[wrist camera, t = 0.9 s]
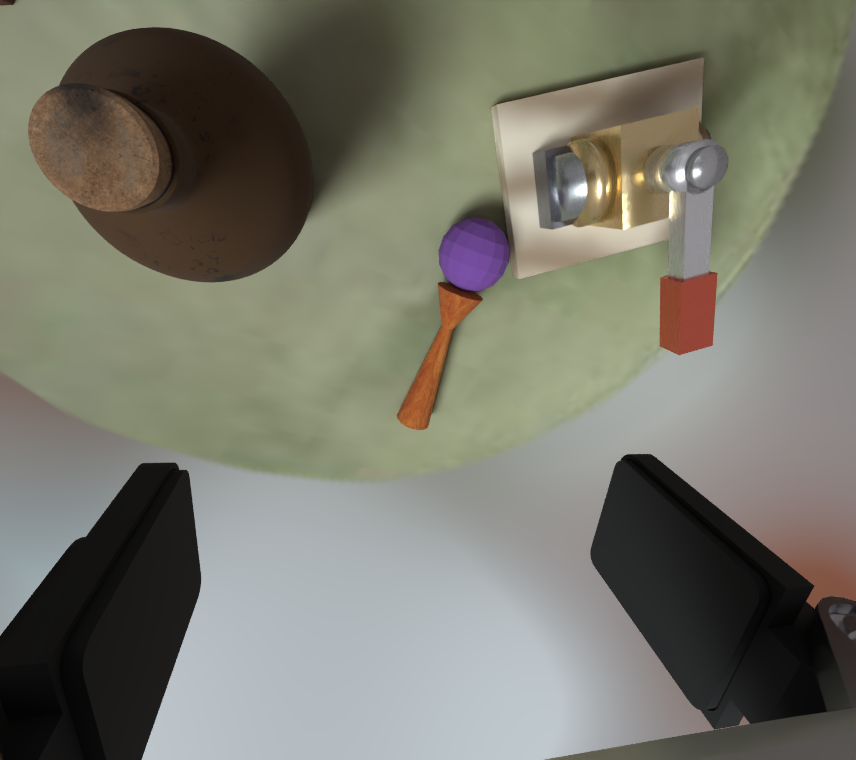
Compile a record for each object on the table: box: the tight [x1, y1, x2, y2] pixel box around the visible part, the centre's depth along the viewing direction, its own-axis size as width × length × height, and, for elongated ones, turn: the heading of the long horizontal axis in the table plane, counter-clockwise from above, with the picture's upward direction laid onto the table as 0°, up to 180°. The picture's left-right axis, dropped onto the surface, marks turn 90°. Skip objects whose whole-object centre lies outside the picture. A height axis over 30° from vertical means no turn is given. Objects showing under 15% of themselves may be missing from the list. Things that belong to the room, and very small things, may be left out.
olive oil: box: [28, 27, 313, 282], centre depth 23 cm, size 11×11×25 cm
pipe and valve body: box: [532, 106, 712, 230], centre depth 35 cm, size 7×13×7 cm, turn 103°
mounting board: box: [491, 57, 704, 279], centre depth 39 cm, size 14×18×2 cm
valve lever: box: [643, 139, 728, 355], centre depth 32 cm, size 14×3×4 cm, turn 12°
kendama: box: [397, 218, 509, 430], centre depth 40 cm, size 6×6×20 cm
